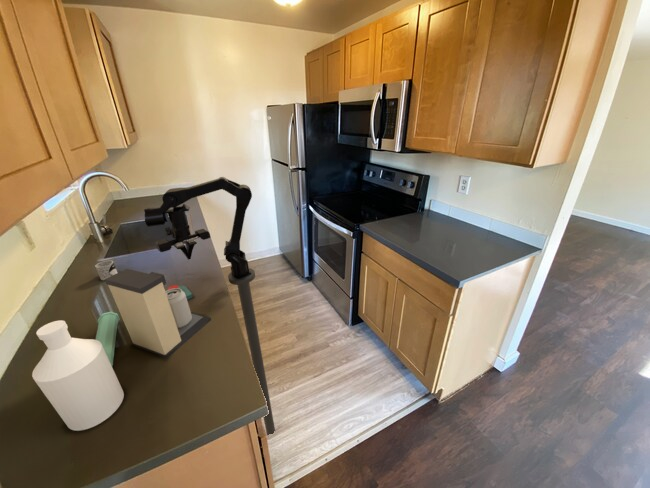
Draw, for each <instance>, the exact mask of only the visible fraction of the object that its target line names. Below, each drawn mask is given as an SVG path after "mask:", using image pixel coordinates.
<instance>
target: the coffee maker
mask: <svg viewBox="0 0 650 488" xmlns="http://www.w3.org/2000/svg"><path fill="white" fill-rule="evenodd" d="M103 281H104V282H105V284H106V285H107V286H108V288H109V291H110V293H111V295H112V297H113V300H114V302H115V304H116V307H117V309H118V312H119V314H120V316H121V319H122V320H123V323H124V326H125V328H126V331H127V333H128V335H129V337H130V340H131V344H132V346H133V347H137V348H139V349H142V350H145V351H147V352H150V353H152V354H155V355H157V356H160V357H163V358H166V359H169V358H170V357H171V356H172V355H173V354H174V353H175V352H177V350H178V349H180V348H181V347H182V346H183V345H184V344H186V343H187V342H188V341H189V340H190V339H191V338H193V337H194V336H195V335H196V334H197V333H198V332H199V331H200V330H202V329H203V328H204V327H205V326H206V325H208V324H209V323H210V322H211V321H212V317H210V316H207V315H204V314H200V313H196V312H193V311H190V312H191V315H192V319H191V321H190V322H189V323H188V324H187V325H186V326H184V327H181V328H177V326H176V322H175V319H174V316H173V313H172V310H171V307H170V304H169V301H168V298H167V295H166V292H165V291H166V289H165V286H164V285H166V284H167V280H166V277H165V275H164V274H163V273H157V272H155V271H154V272H153V271H151V272H150V273H148V272H143V271H139V270H136V269H131V268H125V269H123V270H121V271H119V272H118V273H117V274H115V275H113V276H111V277H109V278H106V279H104V280H103Z"/></svg>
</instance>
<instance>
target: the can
mask: <svg viewBox="0 0 650 488" xmlns="http://www.w3.org/2000/svg"><path fill="white" fill-rule="evenodd" d="M166 290H167V291H166ZM166 290H165V292H166V295H167V298H168V301H169V304H170V307H171V310H172V313H173V316H174V319H175V322H176V326H177V328H181V327H184V326H186V325H187V324H188V323H189V322H190V321H191V319H192V315H191V312H192V311H191V309H190V304H189V302H188V300H187V298H186V295H185V292H183V291H182V290H181V289H179V288H173V289H169V290H168V289H166Z"/></svg>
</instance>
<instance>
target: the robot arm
mask: <svg viewBox="0 0 650 488" xmlns="http://www.w3.org/2000/svg"><path fill="white" fill-rule="evenodd" d="M220 190H223V191H225V192H227V193H228V194H230V195H231V196H233V197H235V202H236V203H235V212H234V217H233V222H232V223H233V224H232V229H231V235H230V239H229V240H225V247H224V248H223V256H225V261H227V262H228V263H229V264H230V273H231V272H232V275H233V276H234V277H235V278H237V279H241V278H243V277H246V276H248V275H251V272H249V268H250V266H249V261H248V260H247V258H246V252H244V250H241V238H242V232H243V229H244V221H245V217H246V211H247V209H248V207H249V204H251V200H252V198H253V194H252V191H251V187H250V186H248V185H247V184H240V183H237V182H236V181H233V180H230V179H228V178H226V177H224V176H220V177H217V178H216V179H212V180H209V181H206V182H201V183H198V184H195V185H191V186H188V187H175V188H169V189H168V190H166V191H165V193H163V195H162V198H161V200H162V204H161V205H159V206H157V207H145V208H144V210H143V211H144V223H145V224H146V227H148V228H151V227H159V226H165V225H167V223H168V222H170V226H167V227H164V228H163V230H164V233H165V234H164V235H165V236H166V237H169V236H171V237H172V238H173V239H172V240H168V239H167V238H163V239H160V240H156V241H155V248H156V250H158V251H159V252H160V253H164V252H168V251H170V250H171V249H172V247H174V248H176V249H177V250H180V251H181V252H182V254H183V255H184V256H185V257H186V259H187V261H188V260H191V259H192V254H193V250H194V248H195V245H197V244H198V242H197V241H196V239H199V238H200V239H201V240H202V241H205V240H208V239H210V238H211V233H210V232H209V231H208V230H207V229H205V228H201V229H197V230H195V231H194V233H193V234H192V233H191V229H190V225H189V222H188V221H189V220H188V218H187V214H186V212H189V211H190V209H191V207H190V206H189V205H187V204H186V203H187V202H188V201H190V200H192V199H194V198H197V197H200V196H204V195H207V194H210V193H214V192H217V191H220Z"/></svg>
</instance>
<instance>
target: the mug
mask: <svg viewBox="0 0 650 488" xmlns="http://www.w3.org/2000/svg"><path fill="white" fill-rule="evenodd" d="M94 267H95V269H96V271H97V274H98V276H99V279H100V280H101V281H105V280H104V279H106V278H109V277H111V276H113V275H115V274H117V273H119V272H118V269H117V268H116V265H115V262H114V260H111V259H109V260H103V261H100V262H98V263H96V264H95V265H94Z"/></svg>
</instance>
